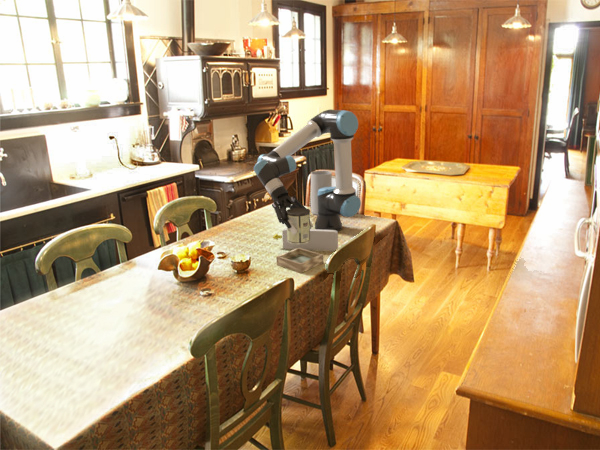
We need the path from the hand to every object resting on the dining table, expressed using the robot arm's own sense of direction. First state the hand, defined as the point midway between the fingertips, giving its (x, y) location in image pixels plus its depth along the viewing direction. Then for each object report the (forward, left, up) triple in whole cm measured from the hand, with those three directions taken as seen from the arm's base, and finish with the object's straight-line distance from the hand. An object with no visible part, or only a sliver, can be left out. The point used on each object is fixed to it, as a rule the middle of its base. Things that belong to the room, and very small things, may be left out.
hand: (303, 230), depth 214 cm
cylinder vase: (-71, -48, -17) cm, 88 cm away
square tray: (0, -3, -17) cm, 17 cm away
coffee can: (0, -3, -6) cm, 6 cm away
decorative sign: (-17, -14, -17) cm, 28 cm away
